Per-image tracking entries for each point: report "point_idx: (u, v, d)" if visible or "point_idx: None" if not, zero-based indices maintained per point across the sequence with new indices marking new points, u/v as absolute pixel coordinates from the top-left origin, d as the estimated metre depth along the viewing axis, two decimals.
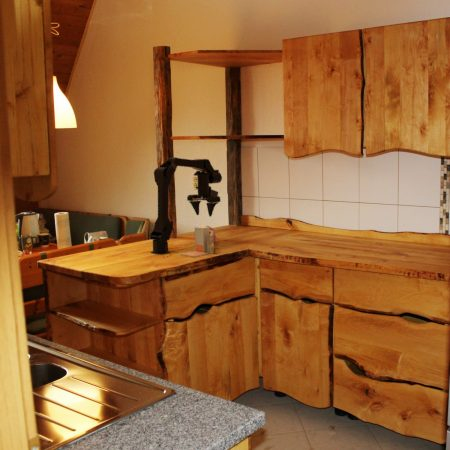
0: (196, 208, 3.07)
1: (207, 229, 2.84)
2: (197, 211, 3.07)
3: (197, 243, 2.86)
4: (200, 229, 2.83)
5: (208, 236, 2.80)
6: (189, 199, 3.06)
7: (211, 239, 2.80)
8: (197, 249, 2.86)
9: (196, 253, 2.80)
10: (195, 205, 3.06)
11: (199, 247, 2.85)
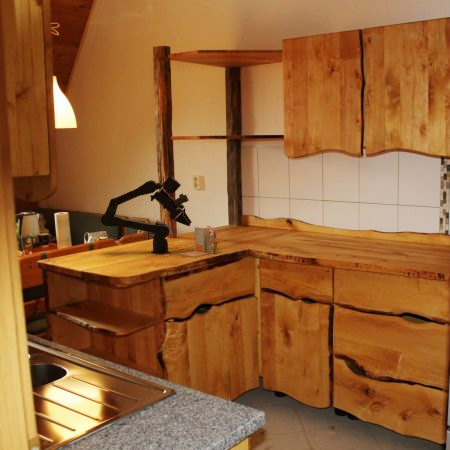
0: None
1: (207, 229, 2.84)
2: (187, 220, 2.89)
3: (197, 243, 2.86)
4: (200, 229, 2.83)
5: (208, 236, 2.80)
6: None
7: (211, 239, 2.80)
8: (197, 249, 2.86)
9: (196, 253, 2.80)
10: None
11: (199, 247, 2.85)
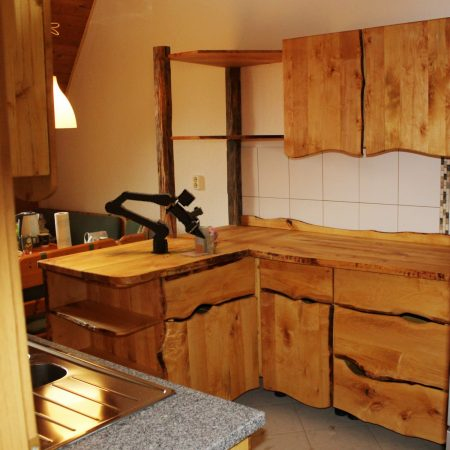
0: None
1: (207, 229, 2.84)
2: None
3: (197, 243, 2.86)
4: (200, 229, 2.83)
5: (208, 236, 2.80)
6: None
7: (211, 239, 2.80)
8: (197, 249, 2.86)
9: (196, 253, 2.80)
10: None
11: (199, 247, 2.85)
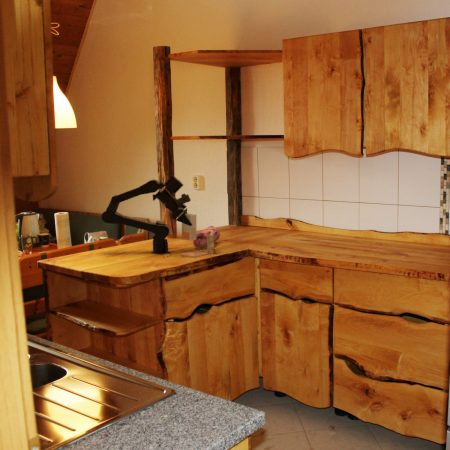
0: None
1: (194, 216, 2.83)
2: None
3: (184, 230, 2.85)
4: (187, 216, 2.82)
5: (208, 236, 2.80)
6: None
7: (211, 239, 2.80)
8: (184, 236, 2.85)
9: (196, 253, 2.80)
10: None
11: (186, 234, 2.84)
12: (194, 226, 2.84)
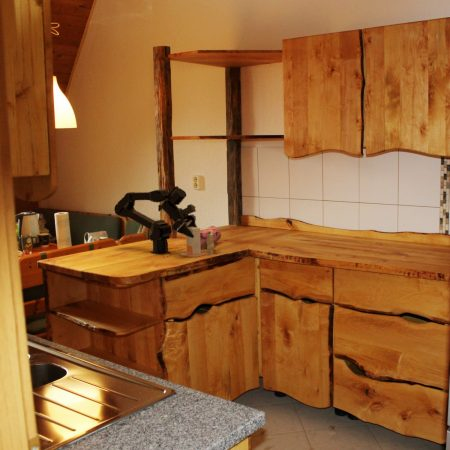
0: None
1: (197, 230, 2.77)
2: None
3: (188, 244, 2.80)
4: (190, 230, 2.77)
5: (208, 236, 2.80)
6: None
7: (211, 239, 2.80)
8: (188, 250, 2.80)
9: None
10: None
11: (189, 248, 2.79)
12: (198, 240, 2.77)
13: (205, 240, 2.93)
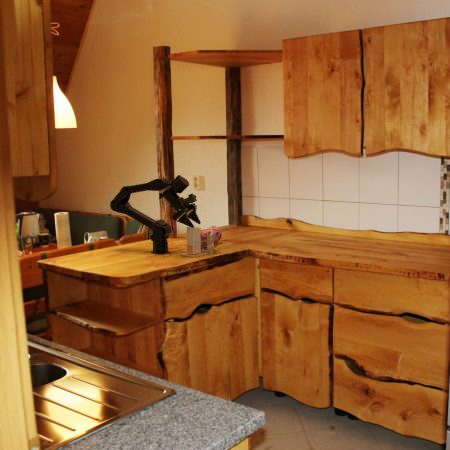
0: (194, 219, 2.85)
1: (198, 229, 2.77)
2: (196, 221, 2.85)
3: (188, 243, 2.80)
4: (190, 229, 2.77)
5: (208, 236, 2.80)
6: None
7: (211, 239, 2.80)
8: (188, 250, 2.80)
9: None
10: (191, 217, 2.85)
11: (189, 247, 2.79)
12: (198, 239, 2.78)
13: (204, 240, 2.93)
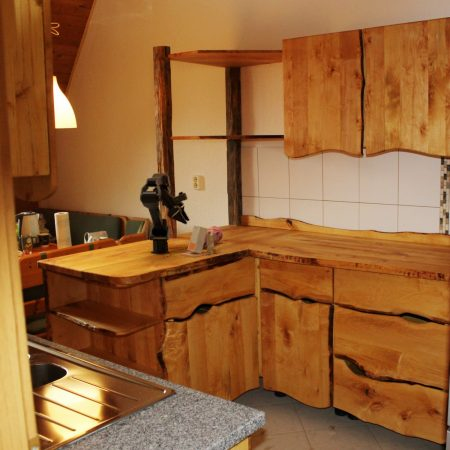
0: (183, 216, 2.96)
1: (204, 229, 2.79)
2: (185, 218, 2.96)
3: (191, 241, 2.80)
4: (197, 227, 2.79)
5: (208, 236, 2.80)
6: None
7: (211, 239, 2.80)
8: (189, 247, 2.80)
9: (196, 253, 2.80)
10: None
11: (192, 245, 2.79)
12: (202, 239, 2.79)
13: None
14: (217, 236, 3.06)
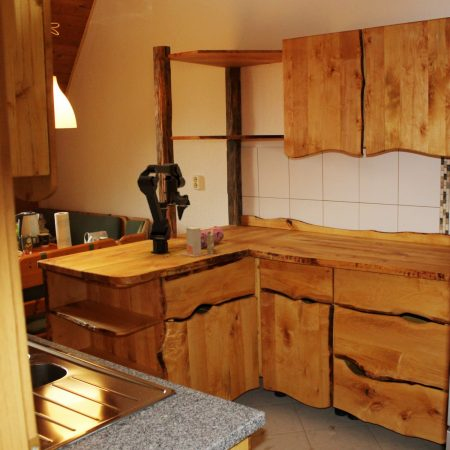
0: (178, 213, 3.02)
1: (198, 230, 2.77)
2: (179, 216, 3.02)
3: (188, 244, 2.80)
4: (190, 230, 2.77)
5: (208, 236, 2.80)
6: None
7: (211, 239, 2.80)
8: (188, 250, 2.80)
9: None
10: (178, 210, 3.02)
11: (190, 248, 2.79)
12: (198, 240, 2.78)
13: (201, 240, 2.93)
14: (217, 236, 3.06)
